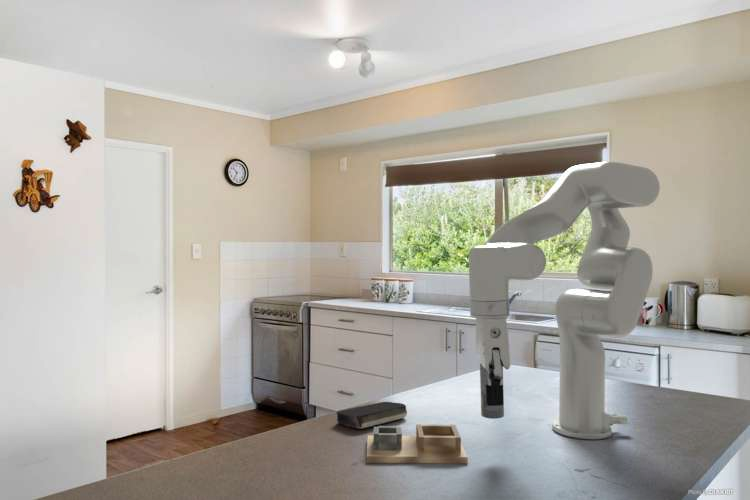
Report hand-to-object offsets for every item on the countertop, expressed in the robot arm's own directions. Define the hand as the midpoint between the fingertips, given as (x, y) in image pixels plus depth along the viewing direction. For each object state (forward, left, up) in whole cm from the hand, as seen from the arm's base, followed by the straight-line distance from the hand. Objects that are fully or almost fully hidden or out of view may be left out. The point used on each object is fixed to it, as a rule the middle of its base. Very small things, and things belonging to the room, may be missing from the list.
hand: (492, 400), depth 113 cm
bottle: (0, 0, -3) cm, 3 cm away
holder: (+15, -1, -11) cm, 18 cm away
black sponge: (+24, -21, -11) cm, 34 cm away
